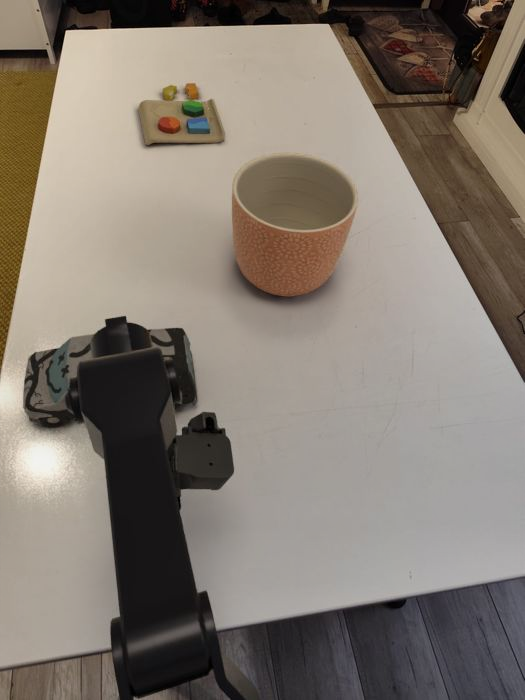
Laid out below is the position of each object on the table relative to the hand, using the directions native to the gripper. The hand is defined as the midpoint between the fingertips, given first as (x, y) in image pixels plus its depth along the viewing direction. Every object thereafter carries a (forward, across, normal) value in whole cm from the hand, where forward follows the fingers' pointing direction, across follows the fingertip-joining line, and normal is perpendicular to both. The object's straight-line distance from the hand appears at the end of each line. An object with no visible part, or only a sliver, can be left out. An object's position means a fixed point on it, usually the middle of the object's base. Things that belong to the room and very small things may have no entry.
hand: (155, 505), depth 60 cm
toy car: (+12, +23, +6) cm, 27 cm away
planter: (+12, +47, -25) cm, 55 cm away
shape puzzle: (+12, +102, -9) cm, 103 cm away
